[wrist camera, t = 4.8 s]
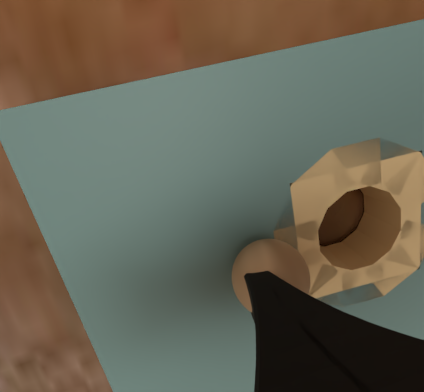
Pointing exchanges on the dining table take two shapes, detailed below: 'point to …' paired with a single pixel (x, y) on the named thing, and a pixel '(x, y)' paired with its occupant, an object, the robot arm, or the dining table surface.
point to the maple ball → (269, 266)
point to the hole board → (229, 199)
